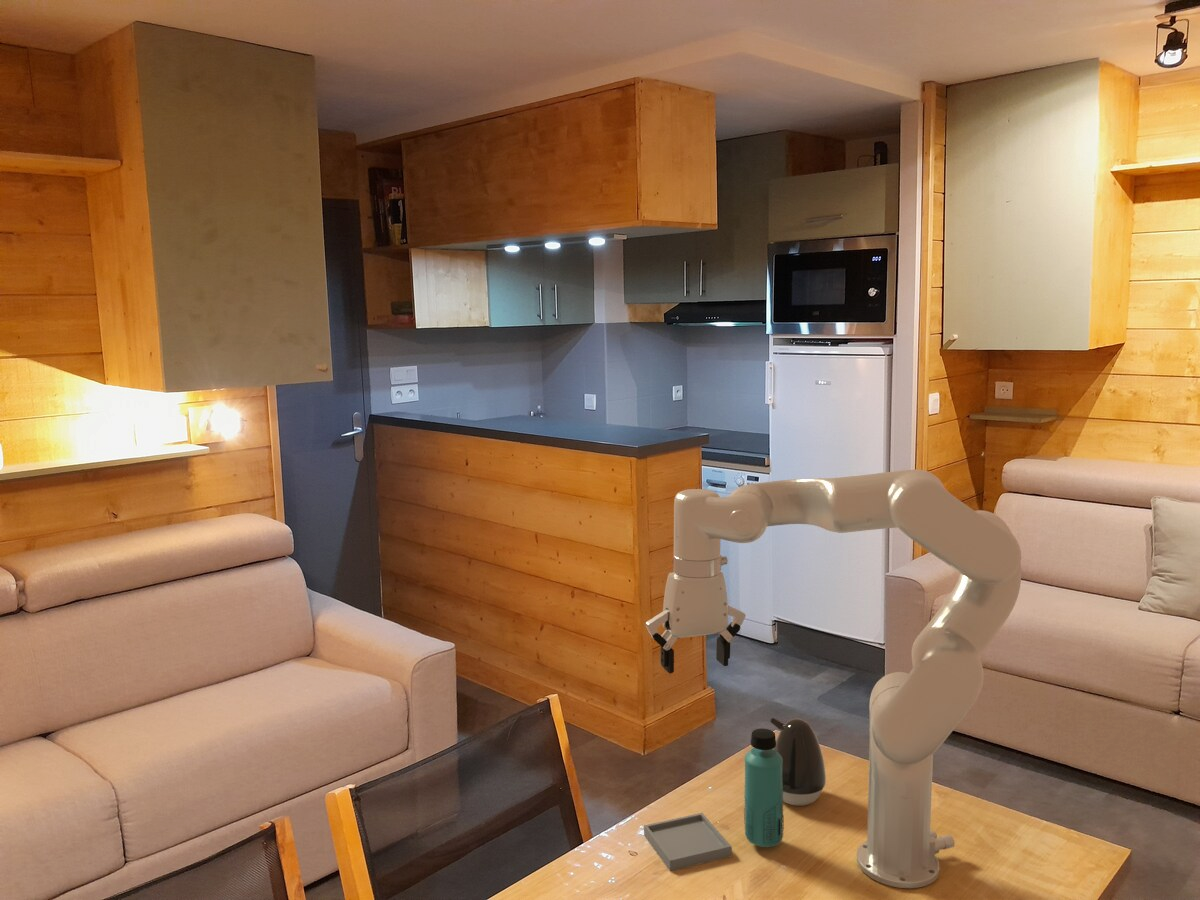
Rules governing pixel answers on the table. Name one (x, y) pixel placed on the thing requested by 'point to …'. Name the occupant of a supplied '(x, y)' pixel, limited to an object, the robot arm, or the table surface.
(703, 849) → the tray
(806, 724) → the pump dispenser
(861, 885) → the table surface
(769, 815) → the beverage bottle
